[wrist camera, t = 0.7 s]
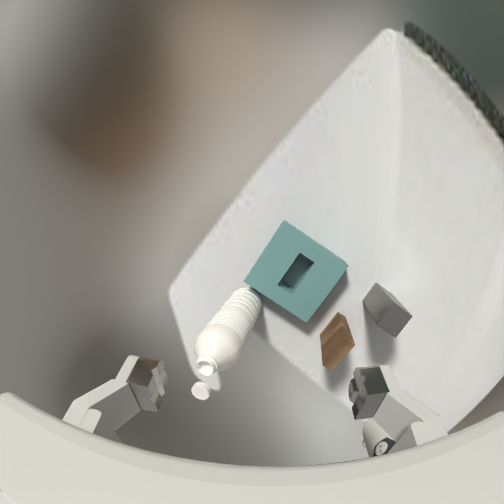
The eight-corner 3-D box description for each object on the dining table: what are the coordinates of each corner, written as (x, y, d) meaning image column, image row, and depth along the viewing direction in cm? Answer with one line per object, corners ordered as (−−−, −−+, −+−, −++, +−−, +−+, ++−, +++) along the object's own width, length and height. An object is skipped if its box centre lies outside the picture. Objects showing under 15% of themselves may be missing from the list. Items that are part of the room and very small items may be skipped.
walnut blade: (345, 317, 51) (354, 345, 40) (327, 339, 53) (331, 370, 41) (337, 312, 51) (345, 339, 40) (320, 334, 53) (322, 365, 41)
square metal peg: (391, 294, 49) (412, 316, 37) (378, 311, 50) (395, 337, 38) (375, 282, 49) (394, 302, 37) (362, 300, 50) (376, 324, 38)
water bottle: (234, 283, 54) (182, 338, 30) (265, 291, 53) (235, 356, 29) (225, 321, 56) (176, 390, 32) (255, 330, 55) (222, 407, 31)
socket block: (345, 261, 50) (348, 266, 46) (306, 314, 53) (306, 322, 49) (284, 220, 51) (282, 221, 47) (247, 276, 54) (243, 281, 50)
